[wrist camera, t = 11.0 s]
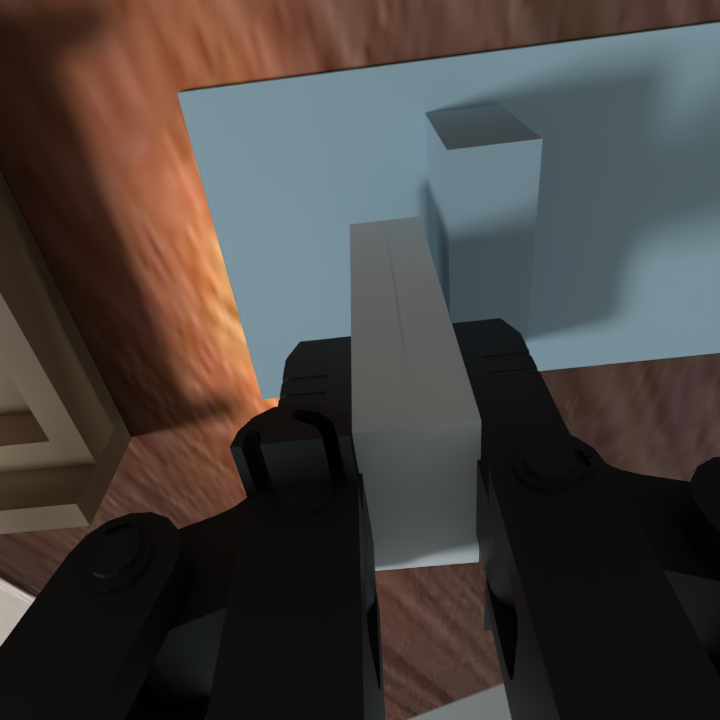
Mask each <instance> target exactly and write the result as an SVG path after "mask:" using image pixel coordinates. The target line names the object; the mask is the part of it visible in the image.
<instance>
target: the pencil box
mask: <svg viewBox="0 0 720 720" xmlns="http://www.w3.org/2000/svg"><path fill="white" fill-rule="evenodd" d="M130 440H131V436H130V434H129V432H128V430H127V428H126V426H125V424H124V421H123V419H122V417H121V415H120V413H119V411H118V409H117V407H116V405H115V403H114V401H113V399H112V397H111V395H110V393H109V391H108V389H107V387H106V385H105V383H104V381H103V379H102V377H101V375H100V373H99V370H98V368H97V366H96V364H95V362H94V360H93V358H92V356H91V354H90V352H89V350H88V348H87V346H86V344H85V342H84V340H83V338H82V336H81V334H80V332H79V330H78V328H77V326H76V324H75V322H74V319H73V317H72V315H71V313H70V311H69V309H68V307H67V305H66V303H65V301H64V299H63V297H62V295H61V293H60V291H59V289H58V287H57V285H56V283H55V281H54V279H53V277H52V275H51V273H50V271H49V268H48V266H47V264H46V262H45V260H44V258H43V256H42V254H41V252H40V250H39V248H38V246H37V244H36V242H35V240H34V238H33V236H32V234H31V232H30V230H29V228H28V226H27V224H26V222H25V220H24V217H23V215H22V213H21V211H20V209H19V207H18V205H17V203H16V201H15V199H14V197H13V195H12V193H11V191H10V189H9V187H8V185H7V183H6V181H5V179H4V177H3V175H2V173H1V171H0V534H5V533H16V532H27V531H38V530H49V529H60V528H71V527H82V526H90V525H91V523H92V521H93V518H94V516H95V514H96V512H97V510H98V508H99V506H100V504H101V502H102V499H103V497H104V495H105V493H106V491H107V489H108V487H109V485H110V483H111V480H112V478H113V476H114V474H115V472H116V470H117V468H118V466H119V464H120V461H121V459H122V457H123V455H124V453H125V451H126V449H127V447H128V445H129V442H130Z"/></svg>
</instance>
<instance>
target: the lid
mask: <svg viewBox="0 0 720 720" xmlns="http://www.w3.org/2000/svg"><path fill="white" fill-rule="evenodd" d="M177 94H178V98H179V101H180V105H181V108H182V112H183V116H184V119H185V123H186V126H187V130H188V134H189V137H190V141H191V144H192V148H193V151H194V155H195V159H196V162H197V166H198V169H199V173H200V177H201V180H202V184H203V187H204V191H205V194H206V198H207V202H208V205H209V209H210V212H211V216H212V220H213V223H214V227H215V230H216V234H217V238H218V241H219V245H220V248H221V252H222V255H223V259H224V263H225V266H226V270H227V273H228V277H229V281H230V284H231V288H232V291H233V295H234V299H235V302H236V306H237V309H238V313H239V316H240V320H241V324H242V327H243V331H244V334H245V338H246V342H247V345H248V349H249V352H250V356H251V360H252V363H253V367H254V370H255V374H256V377H257V381H258V385H259V388H260V392H261V395H262V399H268V398H277V397H280V391H281V385H282V383H283V380H282V379H283V373H284V367H285V360H286V359H287V357H288V356H289V355H290V354H291V352H292V351H293V350H294V348H295V347H296V346H297V345H298V343H299V342H301V341H310V340H319V339H329V338H338V337H347V336H351V281H350V224H357V223H366V222H374V221H382V220H391V219H399V218H408V217H416V216H419V217H420V221H421V224H422V227H423V230H424V234H425V237H426V240H427V244H428V247H429V250H430V253H431V257H432V260H433V263H434V267H435V270H436V273H437V276H438V280H439V283H440V286H441V289H442V293H443V296H444V299H445V303H446V306H447V309H448V312H449V316H450V319H451V322H452V323H459V322H468V321H477V320H487V319H496V318H501V319H502V320H504V321H505V322H506V323H508V324H509V325H510V326H512V327H513V328H514V329H516V330H517V331H519V332H520V333H521V335H522V337H523V339H524V341H525V343H526V345H527V348H528V350H529V353H530V355H531V356H532V358H533V360H534V362H535V364H536V366H537V371H544V370H554V369H564V368H574V367H584V366H594V365H603V364H613V363H623V362H633V361H643V360H653V359H663V358H673V357H682V356H692V355H702V354H712V353H720V22H712V23H704V24H697V25H689V26H681V27H673V28H666V29H658V30H650V31H642V32H635V33H627V34H619V35H611V36H604V37H596V38H588V39H581V40H573V41H565V42H557V43H550V44H542V45H534V46H526V47H519V48H511V49H503V50H495V51H488V52H480V53H472V54H465V55H457V56H449V57H441V58H434V59H426V60H418V61H410V62H403V63H395V64H387V65H379V66H372V67H364V68H356V69H348V70H341V71H333V72H325V73H318V74H310V75H302V76H294V77H287V78H279V79H271V80H263V81H256V82H248V83H240V84H232V85H225V86H217V87H209V88H201V89H194V90H186V91H179V92H178V93H177Z"/></svg>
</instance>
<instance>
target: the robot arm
mask: <svg viewBox="0 0 720 720" xmlns="http://www.w3.org/2000/svg"><path fill="white" fill-rule="evenodd" d="M350 281H351V336H347V337H338V338H329V339H319V340H310V341H301V342H299V343H298V345H297V346H296V347H295V348H294V350H293V351H292V352H291V354H290V355H289V356H288V357H287V359H286V360H285V367H284V373H283V379H282V380H283V383H282V385H281V391H280V400H279V403H278V407H273V408H271V409H269V410H267V411H265V412H263V413H261V414H259V415H257V416H255V417H253V418H252V419H251V420H250V421H249V422H248V423H247V424H246V425H244V426H243V427H242V428H241V429H240V430H239V431H238V433H237V435H236V437H235V438H234V440H233V442H232V444H231V446H230V449H231V452H232V455H233V458H234V461H235V463H236V466H237V469H238V472H239V475H240V478H241V480H242V483H243V486H244V489H245V492H246V495H247V498H246V499H245V500H243V501H242V502H240V503H239V504H238V505H236V506H235V507H233V508H231V509H229V510H227V511H225V512H223V513H221V514H219V515H216V516H214V517H211V518H208V519H205V520H203V521H200V522H197V523H195V524H192V525H189V526H186V527H184V528H181V529H177V528H176V527H175V526H174V524H173V523H172V522H171V521H170V520H169V519H168V518H167V517H164V516H161V515H158V514H155V513H152V512H146V513H130V514H127V515H125V516H122V517H119V518H116V519H113V520H111V521H108V522H106V523H105V524H103V525H102V526H100V527H99V528H97V529H95V530H94V531H92V532H91V533H89V534H88V535H86V536H85V537H84V538H83V540H82V541H81V542H80V543H79V544H78V545H77V546H76V547H75V548H74V549H73V550H72V551H71V552H70V553H69V554H68V556H67V557H66V558H65V560H64V561H63V562H62V564H61V565H60V567H59V568H58V569H57V571H56V572H55V573H54V575H53V576H52V577H51V579H50V580H49V581H48V583H47V584H46V586H45V587H44V588H43V590H42V591H41V592H40V594H39V595H38V596H37V598H36V599H35V600H34V602H33V603H32V605H31V606H30V607H29V609H28V610H27V611H26V613H25V614H24V615H23V617H22V618H21V619H20V621H19V622H18V624H17V625H16V626H15V628H14V629H13V630H12V632H11V633H10V634H9V636H8V637H7V638H6V640H5V641H4V643H3V644H2V645H1V647H0V720H385V704H384V686H383V667H382V649H381V630H380V611H379V604H378V599H377V593H376V582H375V571H377V570H389V569H401V568H413V567H424V566H436V565H448V564H460V563H471V562H479V548H480V552H481V557H482V561H483V565H484V569H485V574H486V584H485V613H484V621H485V630H492V632H493V636H494V641H495V645H496V650H497V655H498V659H499V664H500V668H501V673H502V677H503V682H504V686H505V691H506V695H507V700H508V705H509V709H510V713H511V718H512V720H720V457H714V458H712V459H710V460H708V461H707V462H705V463H703V464H701V465H699V466H698V467H697V469H696V471H695V473H694V475H693V477H692V479H691V481H690V482H687V481H681V480H674V479H668V478H661V477H654V476H648V475H641V474H636V473H632V472H628V471H623V470H620V469H617V468H615V467H612V466H610V465H607V464H606V463H605V461H604V460H603V459H602V458H601V456H600V455H599V454H598V453H597V452H596V450H595V449H594V448H593V447H591V446H589V445H588V444H586V443H584V442H583V441H581V440H580V439H578V438H576V437H574V436H571V434H570V433H569V431H568V429H567V427H566V425H565V423H564V421H563V419H562V417H561V415H560V413H559V411H558V409H557V407H556V405H555V403H554V400H553V398H552V396H551V394H550V392H549V390H548V388H547V386H546V384H545V382H544V380H543V378H542V376H541V374H540V372H538V371H537V366H536V364H535V362H534V360H533V358H532V356H531V355H530V353H529V350H528V348H527V345H526V343H525V341H524V339H523V337H522V335H521V333H520V332H519V331H517V330H516V329H514V328H513V327H512V326H510V325H509V324H508V323H506V322H505V321H504V320H502V319H501V318H496V319H487V320H477V321H468V322H459V323H452V322H451V319H450V316H449V312H448V309H447V306H446V303H445V299H444V296H443V293H442V289H441V286H440V283H439V280H438V276H437V273H436V270H435V267H434V263H433V260H432V257H431V253H430V250H429V247H428V244H427V240H426V237H425V234H424V230H423V227H422V224H421V221H420V217H419V216H416V217H408V218H399V219H391V220H382V221H374V222H366V223H357V224H350Z"/></svg>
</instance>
